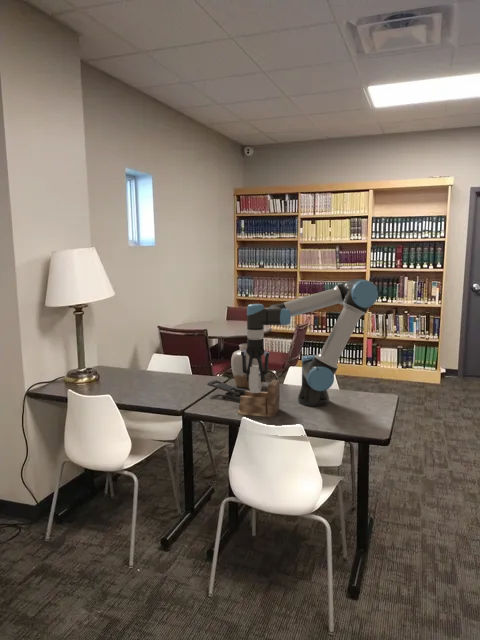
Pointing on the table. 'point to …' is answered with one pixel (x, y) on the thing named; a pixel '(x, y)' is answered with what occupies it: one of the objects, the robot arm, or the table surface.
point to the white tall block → (254, 379)
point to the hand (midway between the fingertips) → (255, 388)
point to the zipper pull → (229, 390)
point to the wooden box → (261, 401)
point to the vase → (241, 367)
